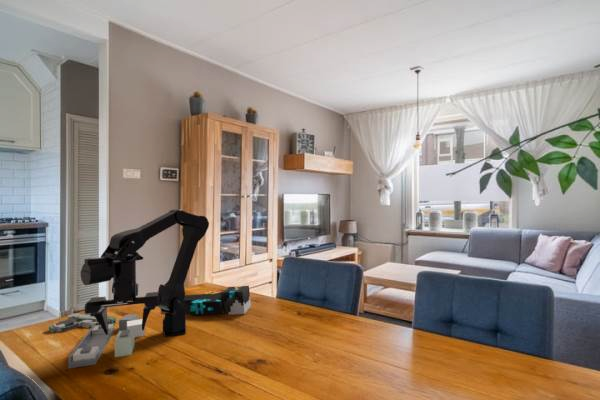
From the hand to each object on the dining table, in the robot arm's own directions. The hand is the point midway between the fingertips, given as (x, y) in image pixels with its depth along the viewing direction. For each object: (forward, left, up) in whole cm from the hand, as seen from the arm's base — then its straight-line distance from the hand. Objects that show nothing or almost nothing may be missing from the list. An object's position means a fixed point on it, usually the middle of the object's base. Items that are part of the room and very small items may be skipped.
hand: (125, 332), depth 94 cm
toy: (-24, -29, -6) cm, 38 cm away
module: (0, 0, -6) cm, 6 cm away
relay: (-1, -12, -6) cm, 13 cm away
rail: (+9, -5, -5) cm, 12 cm away
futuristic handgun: (+17, -25, -6) cm, 31 cm away
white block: (+2, -18, -6) cm, 19 cm away
